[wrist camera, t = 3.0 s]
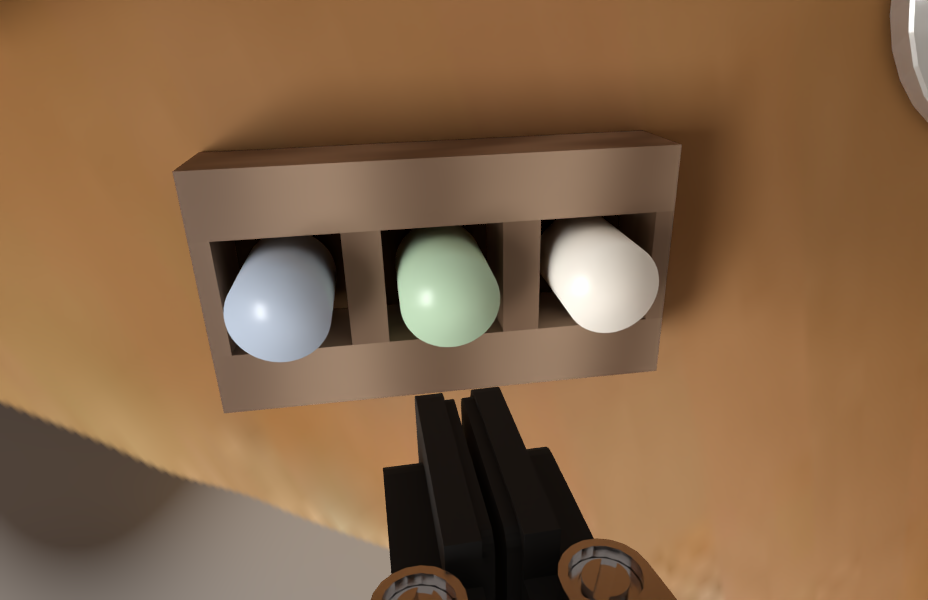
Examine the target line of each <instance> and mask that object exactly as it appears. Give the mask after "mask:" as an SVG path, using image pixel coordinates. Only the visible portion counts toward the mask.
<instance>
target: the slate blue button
mask: <svg viewBox="0 0 928 600" xmlns="http://www.w3.org/2000/svg"><path fill="white" fill-rule="evenodd" d="M336 278H337V270H336V265H335V262H334V259H333V257H332V255H331V253H330V252H329V250H328V249H327V248H326V247H325V246H324V245H323V244H322V243H321V242H320V241H319V240H317V239H316V238H314V237H312V236H310V235H305V236H290V237H275V238H262V239H261V240H260V241H259V242H257V243H256V245H255V246H254V247H253V248H252V250H251V251H250V253H249V255H248V257H247V259H246V261H245V263H244V264H243V266H242V268H241V270H240V272H239V274H238V276H237V278H236V280H235V282H234V283H233V285H232V287H231V289H230V291H229V293H228V295H227V297H226V300H225V304H224V321H225V325H226V328H227V330H228V333H229V334H230V336H231V338H232V339H233V340H234V341H235V343H236V344H237V345H238V346H239V347H240V348H241V349H243V350H244V351H245V352H247V353H249V354H250V355H252V356H254V357H257V358H259V359H262V360H266V361H271V362H289V361H294V360H298V359H301V358H303V357H305V356H307V355H309V354H311V353H312V352H314V351H315V350H316V349H317V348H318V347H319V346H320V345H321V344H322V343H323V342H324V340H325V338H326V337H327V335H328V332H329V330H330V326H331V319H332V311H333V303H334V295H335V287H336Z"/></svg>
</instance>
